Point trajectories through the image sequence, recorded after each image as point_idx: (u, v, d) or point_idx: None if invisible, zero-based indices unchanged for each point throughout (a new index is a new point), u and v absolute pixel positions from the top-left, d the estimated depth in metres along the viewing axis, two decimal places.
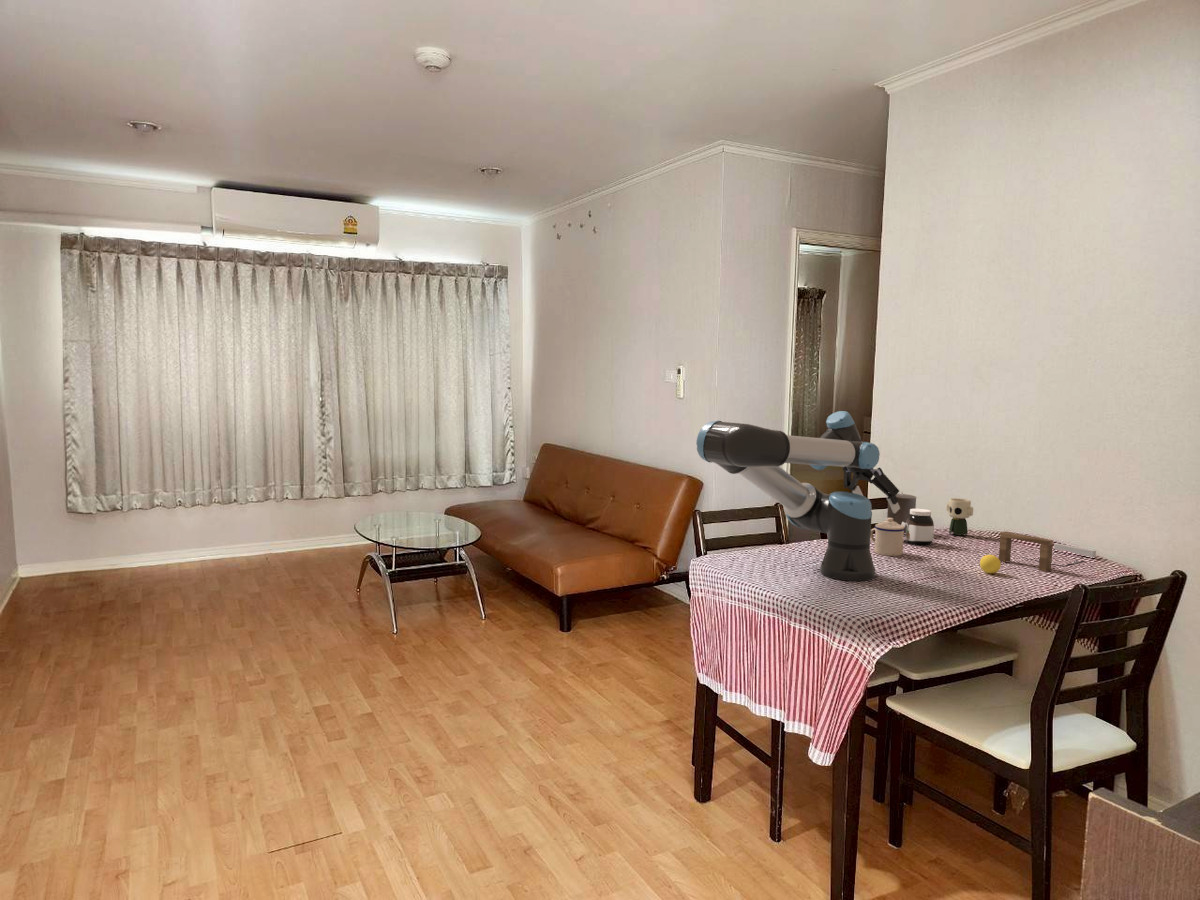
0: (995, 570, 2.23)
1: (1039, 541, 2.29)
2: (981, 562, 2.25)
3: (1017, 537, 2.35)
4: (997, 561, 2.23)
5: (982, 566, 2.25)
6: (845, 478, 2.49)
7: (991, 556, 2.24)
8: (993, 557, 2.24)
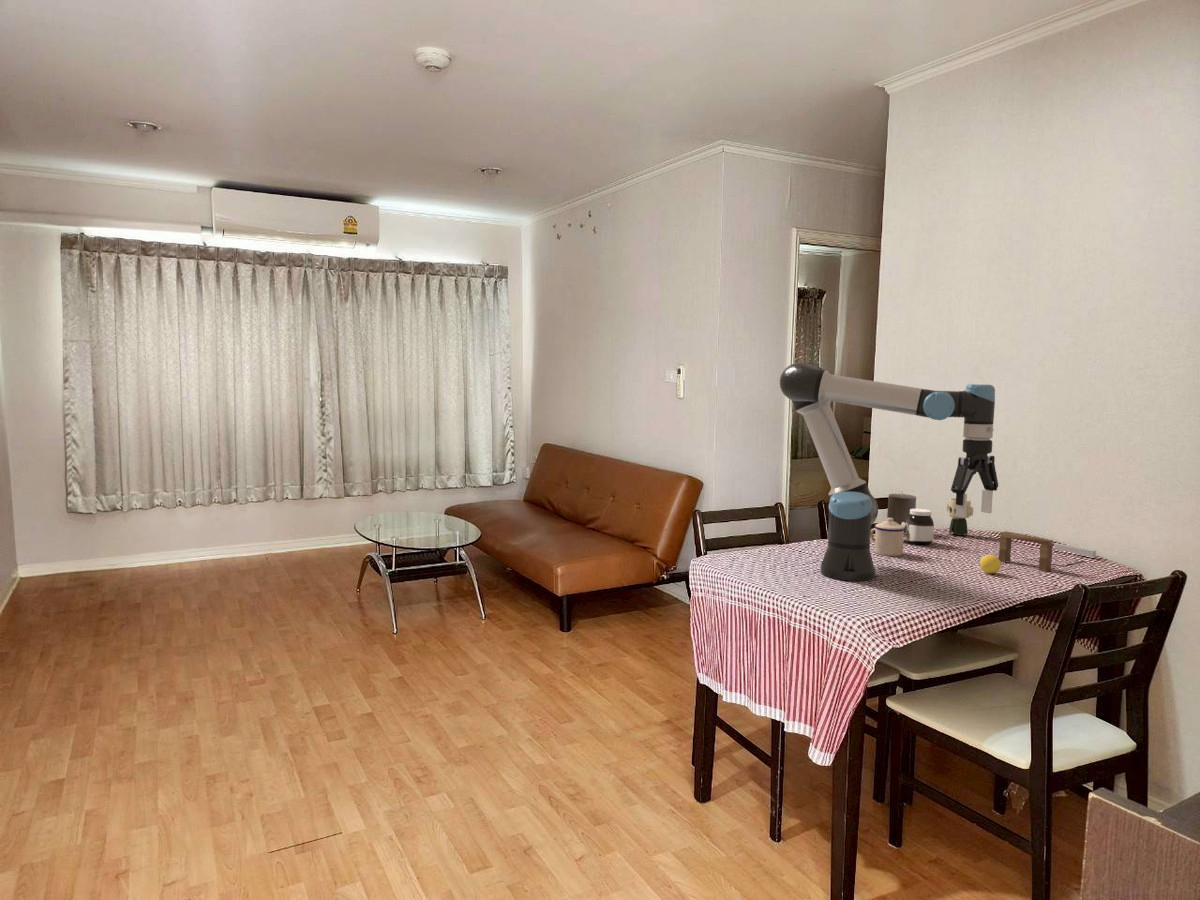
0: (995, 570, 2.23)
1: (1039, 541, 2.29)
2: (981, 562, 2.25)
3: (1017, 537, 2.35)
4: (997, 561, 2.23)
5: (982, 566, 2.25)
6: None
7: (991, 556, 2.24)
8: (993, 557, 2.24)
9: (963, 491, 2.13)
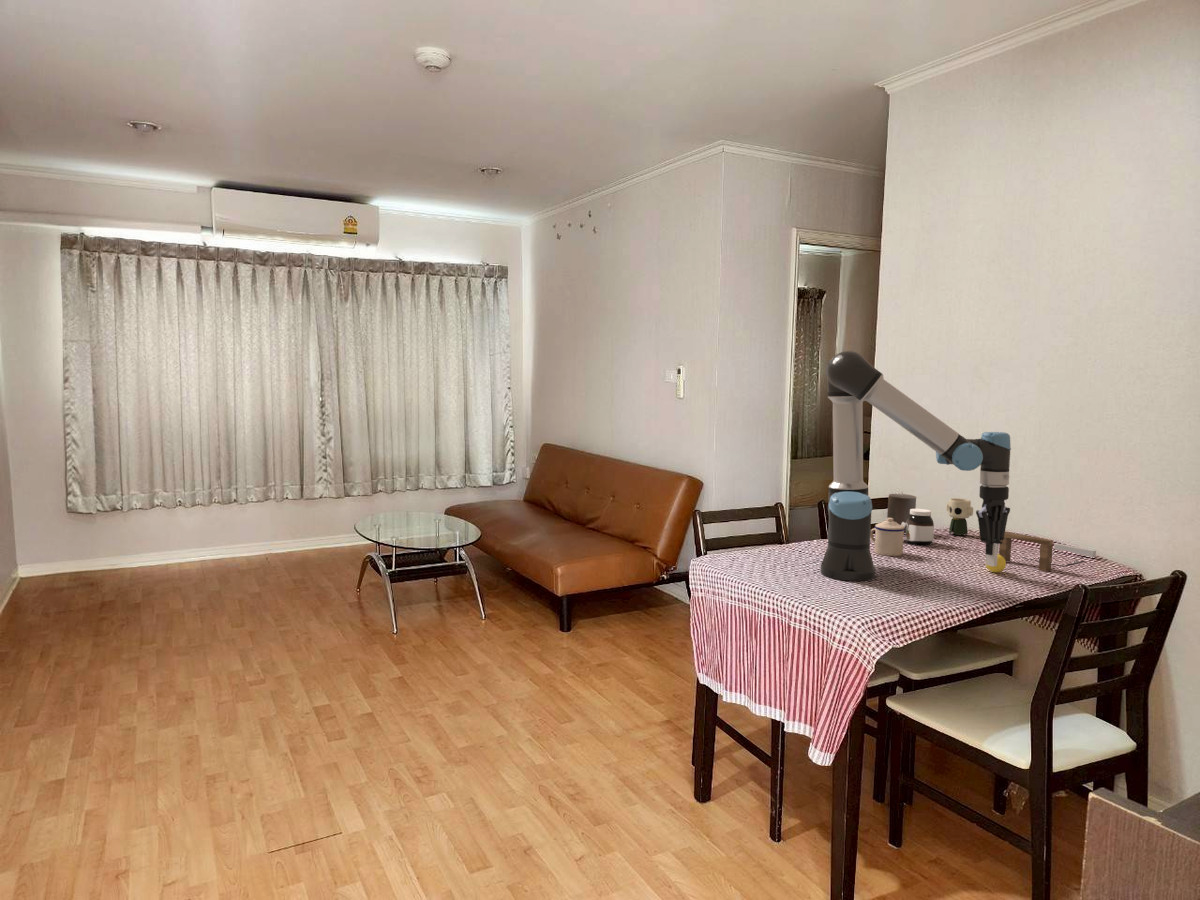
0: (999, 567, 2.24)
1: (1039, 541, 2.29)
2: None
3: (1017, 537, 2.35)
4: (1004, 560, 2.25)
5: None
6: None
7: (1000, 555, 2.26)
8: None
9: (992, 542, 2.21)
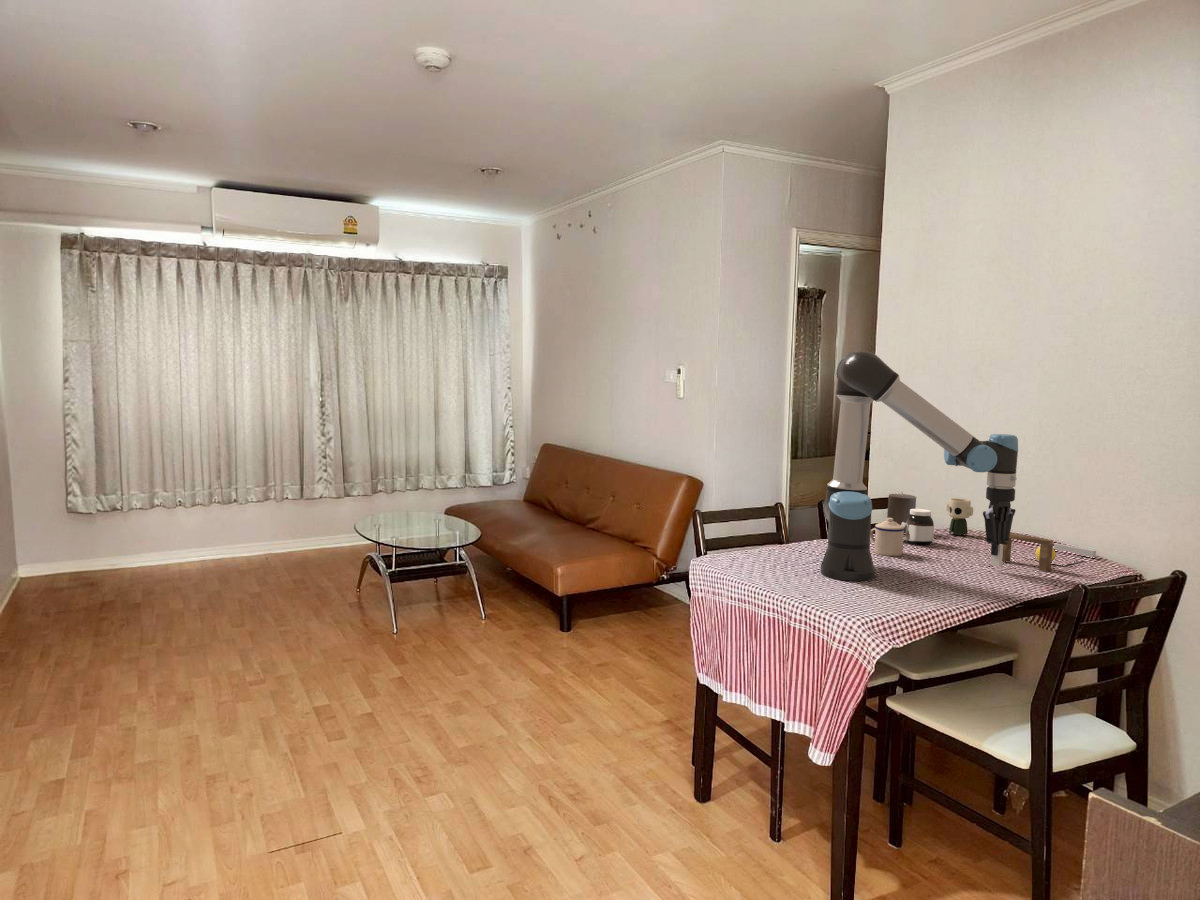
0: (1055, 552, 2.37)
1: (1039, 541, 2.29)
2: None
3: (1017, 537, 2.35)
4: (1052, 559, 2.37)
5: None
6: None
7: None
8: None
9: (998, 543, 2.24)
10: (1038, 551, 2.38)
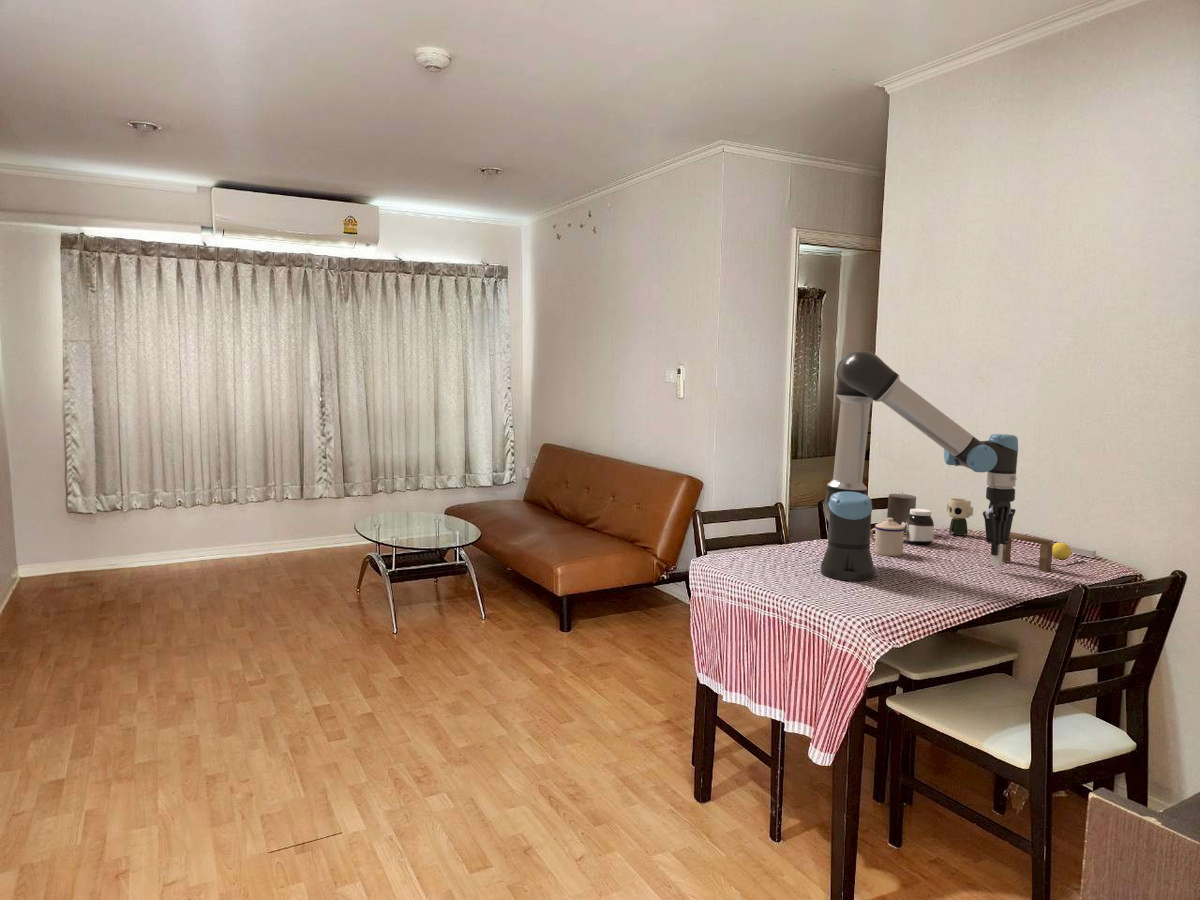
0: (1065, 556, 2.40)
1: (1039, 541, 2.29)
2: (1053, 547, 2.43)
3: (1017, 537, 2.35)
4: (1068, 548, 2.41)
5: (1053, 551, 2.42)
6: None
7: (1063, 543, 2.42)
8: (1065, 544, 2.41)
9: (998, 543, 2.24)
10: None
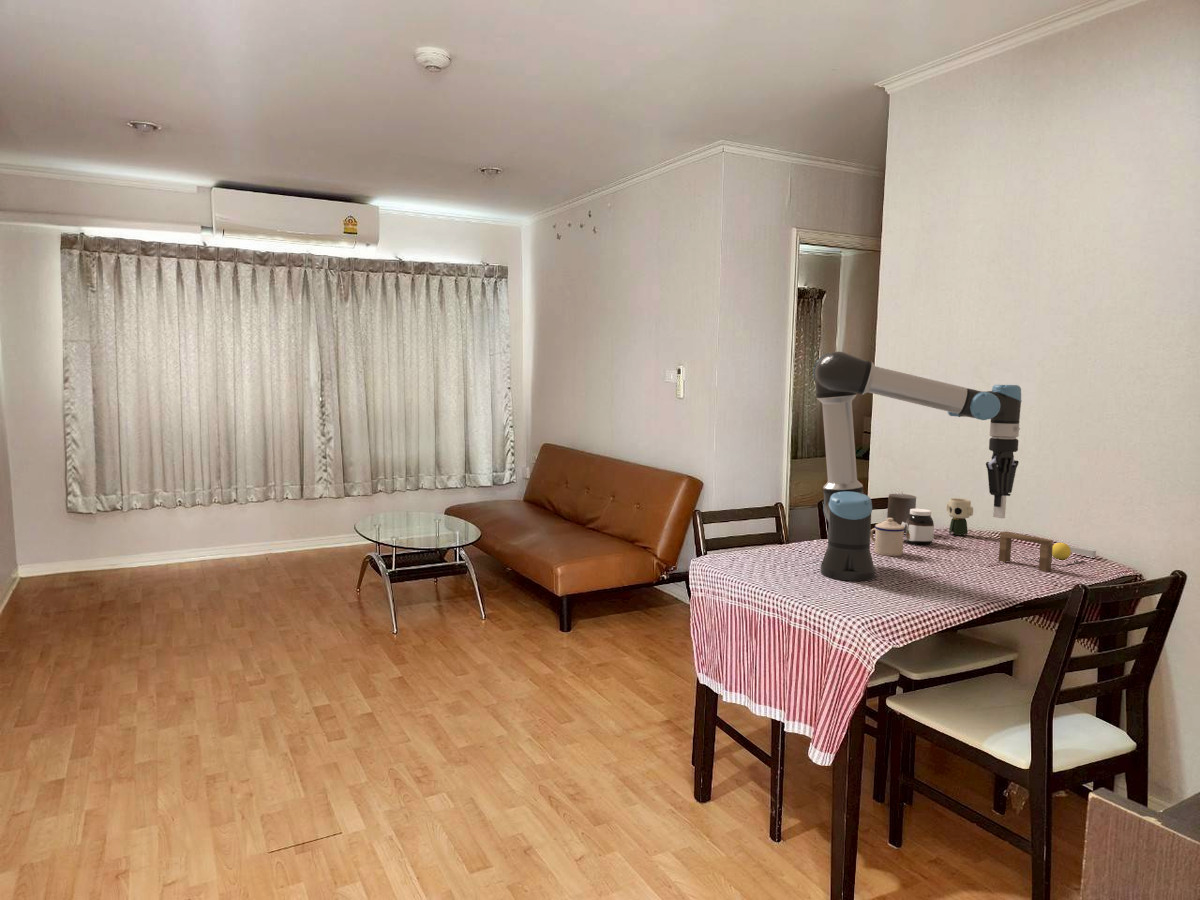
0: (1065, 556, 2.40)
1: (1039, 541, 2.29)
2: (1053, 547, 2.43)
3: (1017, 537, 2.35)
4: (1068, 548, 2.41)
5: (1053, 551, 2.42)
6: None
7: (1063, 543, 2.42)
8: (1065, 544, 2.41)
9: (1001, 494, 2.23)
10: None
